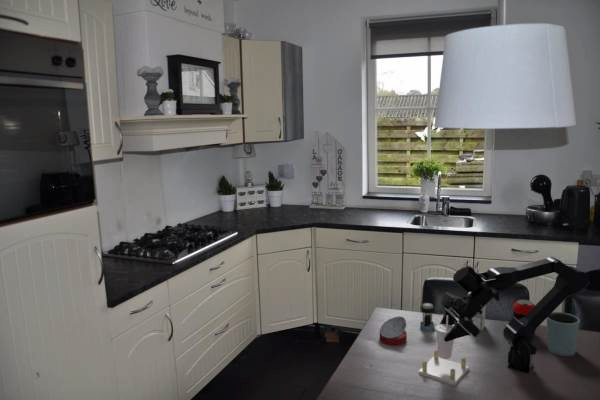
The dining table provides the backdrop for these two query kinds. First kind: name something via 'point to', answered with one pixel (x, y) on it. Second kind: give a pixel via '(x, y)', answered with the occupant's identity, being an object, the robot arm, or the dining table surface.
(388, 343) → the canned food
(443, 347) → the smoothie
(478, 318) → the syrup box
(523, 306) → the soda can
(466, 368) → the pin plate
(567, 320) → the teal cylindrical pot
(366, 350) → the dining table surface
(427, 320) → the push button
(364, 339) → the dining table surface
